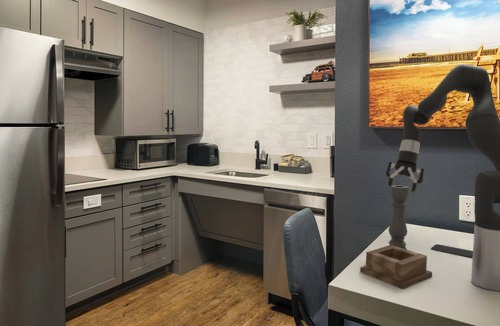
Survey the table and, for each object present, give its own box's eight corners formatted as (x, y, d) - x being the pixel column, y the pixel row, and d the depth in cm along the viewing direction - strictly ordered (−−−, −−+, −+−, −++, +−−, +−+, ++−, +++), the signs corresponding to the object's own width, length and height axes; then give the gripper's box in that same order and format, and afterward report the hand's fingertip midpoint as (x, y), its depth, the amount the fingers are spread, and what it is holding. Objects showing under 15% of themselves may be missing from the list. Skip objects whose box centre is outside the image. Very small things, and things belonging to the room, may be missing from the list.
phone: (436, 243, 144) (481, 252, 134) (436, 245, 144) (480, 254, 134) (430, 248, 138) (476, 257, 128) (429, 250, 138) (476, 260, 128)
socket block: (431, 276, 114) (433, 256, 113) (402, 289, 105) (403, 266, 105) (389, 261, 126) (389, 243, 125) (360, 271, 118) (360, 251, 117)
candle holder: (403, 253, 134) (406, 185, 131) (408, 260, 128) (411, 188, 125) (385, 253, 134) (387, 184, 132) (390, 259, 128) (392, 187, 126)
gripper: (391, 146, 154) (383, 184, 152) (428, 153, 150) (420, 192, 147) (390, 151, 161) (382, 187, 159) (425, 157, 157) (417, 195, 155)
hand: (400, 189), depth 153 cm, fingers open, 8 cm apart
